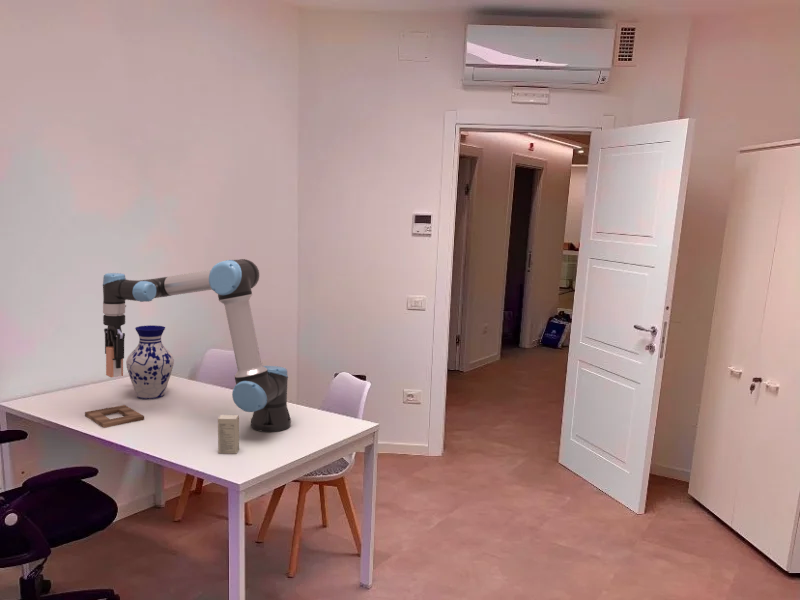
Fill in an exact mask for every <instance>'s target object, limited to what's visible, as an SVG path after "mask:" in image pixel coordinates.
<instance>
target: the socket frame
mask: <svg viewBox="0 0 800 600" xmlns="http://www.w3.org/2000/svg"><path fill="white" fill-rule="evenodd" d="M115 414H120V415H121V416H120V417H115V418H110V417H108V415H109V416H110V415H115ZM84 416H85V417H86V418H88V419H89V420H91V421H93V423H96V424H97V425H98V426H100V427H101V428H102V429H105V428H111V427H115V426H120V425H125V424H131V423H135V422H140V421H144V420H145V415H143V414H141V413H139V412H138V411H136V410H135V409H133V408H131V407H129V406H127V405H126V404H123V405H117V406H111V407H106V408H101V409H100V408H99V409H95V410H89V411H85V412H84Z"/></svg>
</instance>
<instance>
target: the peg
mask: <svg viewBox="0 0 800 600" xmlns="http://www.w3.org/2000/svg"><path fill="white" fill-rule="evenodd" d="M112 359H114V348H113V346H108V347H106V354H105V362H106V363H105V375H106V376H108V378H114V377H113V360H112ZM123 376H124V359H121V376H120V377H123ZM117 377H118V378H119V376H117ZM117 377H116V378H117Z"/></svg>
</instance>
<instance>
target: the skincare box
mask: <svg viewBox="0 0 800 600" xmlns="http://www.w3.org/2000/svg"><path fill="white" fill-rule="evenodd" d="M217 442H218V443H217V447H218V448H217V449H218V450H217V452H218V454H232V455H233V454H238V452H239V451H240V417H239V414H221V415H219V416H218V418H217Z"/></svg>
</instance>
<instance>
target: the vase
mask: <svg viewBox="0 0 800 600" xmlns="http://www.w3.org/2000/svg"><path fill="white" fill-rule="evenodd" d="M134 330H135V331H136V333H137V335H138V337H139V341H138V344H137V346H136V347H135V348H134V349H133V350H132V351H131V353H130V354H129V355H128V356H127V358H126V368H127V374H128V376H129V379H130V381H131V384H132V387H133V390H134V393H135V395H136V398H138V399H140V400H154V399H160V398H162V397H164V396H165V393H166V390H167V387H168V383H169V380H170V378H171V375H172V372H173V368H174V365H175V359H174V356H173V354H172V353H171V352H170V351H169V350H168V349H167V348H166V347H165V346H164V344H163V342H162V335H163V333H164V331H165V330H166V326H163V325H140V326H136V327H135V328H134Z"/></svg>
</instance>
